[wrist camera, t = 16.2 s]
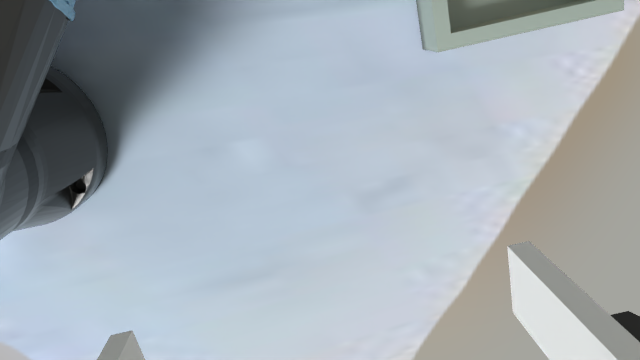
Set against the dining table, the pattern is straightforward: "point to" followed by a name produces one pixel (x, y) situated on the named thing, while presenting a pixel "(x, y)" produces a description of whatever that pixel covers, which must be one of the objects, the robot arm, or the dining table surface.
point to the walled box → (498, 18)
